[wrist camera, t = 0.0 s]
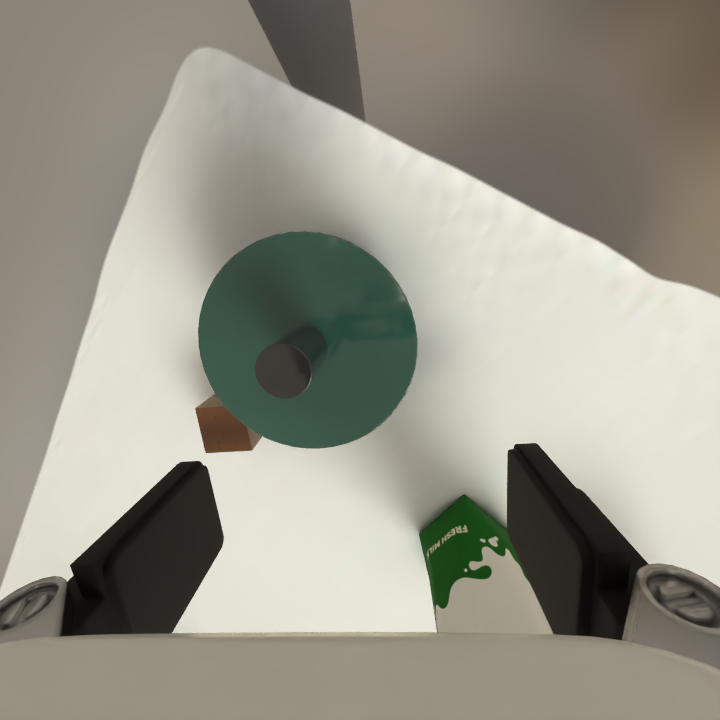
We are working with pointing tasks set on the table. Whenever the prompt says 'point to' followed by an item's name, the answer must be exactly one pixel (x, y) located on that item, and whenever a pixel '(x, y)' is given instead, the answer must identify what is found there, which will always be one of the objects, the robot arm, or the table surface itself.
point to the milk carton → (478, 575)
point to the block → (223, 428)
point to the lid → (307, 339)
